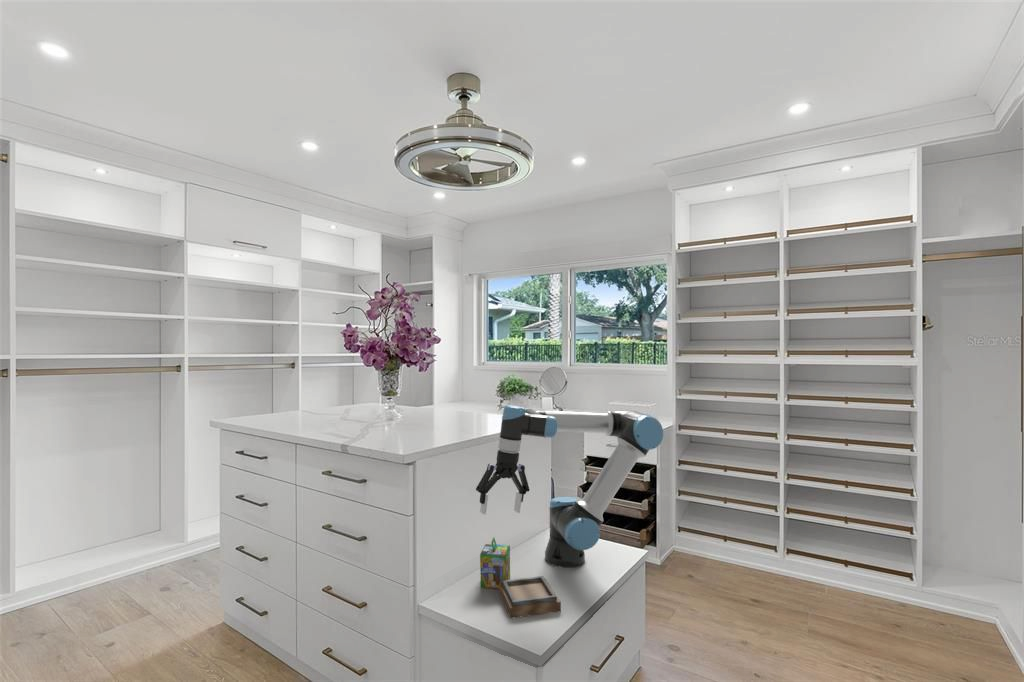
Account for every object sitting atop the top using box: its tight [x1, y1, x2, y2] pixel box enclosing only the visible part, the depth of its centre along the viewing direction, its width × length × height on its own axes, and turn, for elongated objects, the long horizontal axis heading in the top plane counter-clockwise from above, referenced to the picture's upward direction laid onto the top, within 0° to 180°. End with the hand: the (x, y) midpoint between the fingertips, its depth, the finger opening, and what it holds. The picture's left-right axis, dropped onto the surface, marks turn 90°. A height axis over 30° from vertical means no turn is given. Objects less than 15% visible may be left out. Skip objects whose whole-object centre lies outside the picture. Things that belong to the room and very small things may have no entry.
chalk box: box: [479, 536, 511, 589], centre depth 173 cm, size 9×9×15 cm
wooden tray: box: [498, 575, 562, 619], centre depth 160 cm, size 16×16×4 cm
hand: (500, 512), depth 172 cm, fingers open, 13 cm apart
